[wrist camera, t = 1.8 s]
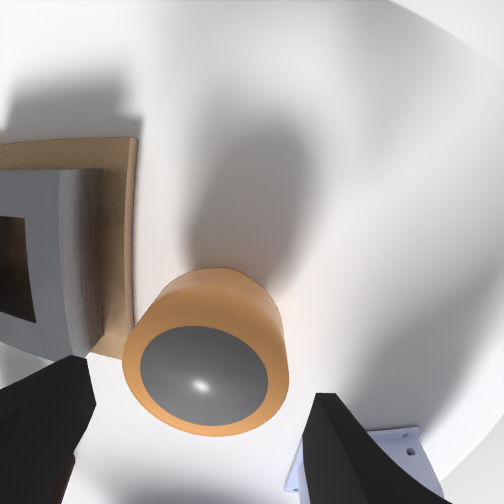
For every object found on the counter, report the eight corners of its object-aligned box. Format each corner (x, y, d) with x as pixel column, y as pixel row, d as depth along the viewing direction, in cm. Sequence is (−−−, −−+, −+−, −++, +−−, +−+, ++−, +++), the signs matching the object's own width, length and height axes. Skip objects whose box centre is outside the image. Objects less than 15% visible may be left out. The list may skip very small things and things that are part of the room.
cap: (286, 256, 15) (304, 317, 9) (271, 356, 17) (274, 443, 11) (170, 243, 15) (115, 292, 9) (168, 343, 17) (130, 422, 10)
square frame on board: (138, 139, 14) (94, 130, 10) (135, 352, 17) (106, 399, 13) (-13, 147, 14) (-61, 150, 10) (-2, 314, 17) (-39, 340, 13)
